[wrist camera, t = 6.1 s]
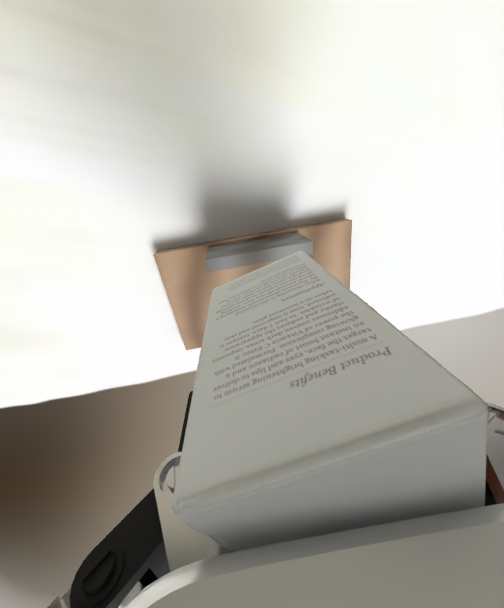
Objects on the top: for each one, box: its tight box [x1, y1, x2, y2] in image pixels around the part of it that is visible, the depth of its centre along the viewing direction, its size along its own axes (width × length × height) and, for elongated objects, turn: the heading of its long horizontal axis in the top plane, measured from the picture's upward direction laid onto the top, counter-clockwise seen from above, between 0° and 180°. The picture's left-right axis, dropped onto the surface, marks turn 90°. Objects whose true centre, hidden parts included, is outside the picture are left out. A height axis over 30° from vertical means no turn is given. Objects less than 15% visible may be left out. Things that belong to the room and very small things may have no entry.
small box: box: [172, 251, 489, 552], centre depth 10 cm, size 8×6×10 cm
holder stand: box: [154, 219, 352, 350], centre depth 27 cm, size 22×13×6 cm, turn 99°
